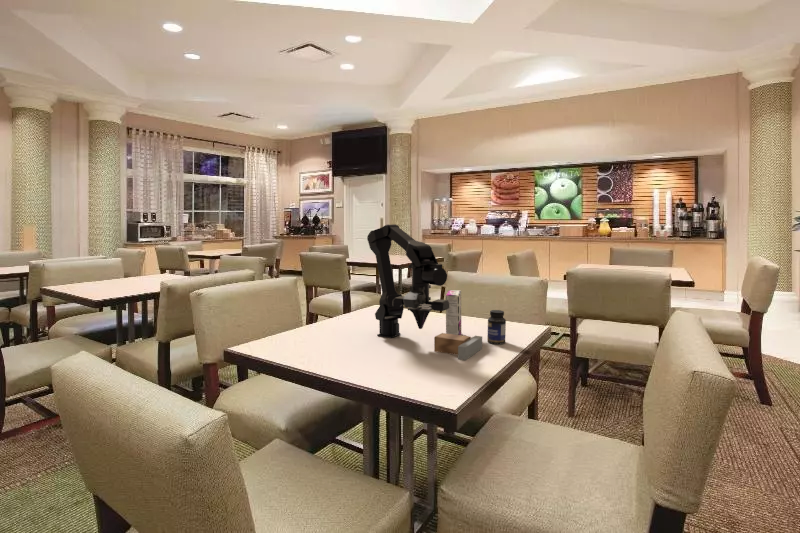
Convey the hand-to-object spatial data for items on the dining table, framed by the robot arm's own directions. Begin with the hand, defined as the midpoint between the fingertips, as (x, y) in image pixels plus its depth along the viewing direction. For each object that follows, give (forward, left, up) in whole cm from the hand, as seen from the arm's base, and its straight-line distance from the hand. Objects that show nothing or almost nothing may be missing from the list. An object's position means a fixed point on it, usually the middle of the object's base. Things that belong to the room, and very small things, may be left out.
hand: (420, 328), depth 159 cm
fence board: (+18, 0, -6) cm, 19 cm away
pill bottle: (+21, +17, -6) cm, 28 cm away
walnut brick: (+12, 0, -6) cm, 13 cm away
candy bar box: (+5, +17, -6) cm, 19 cm away
